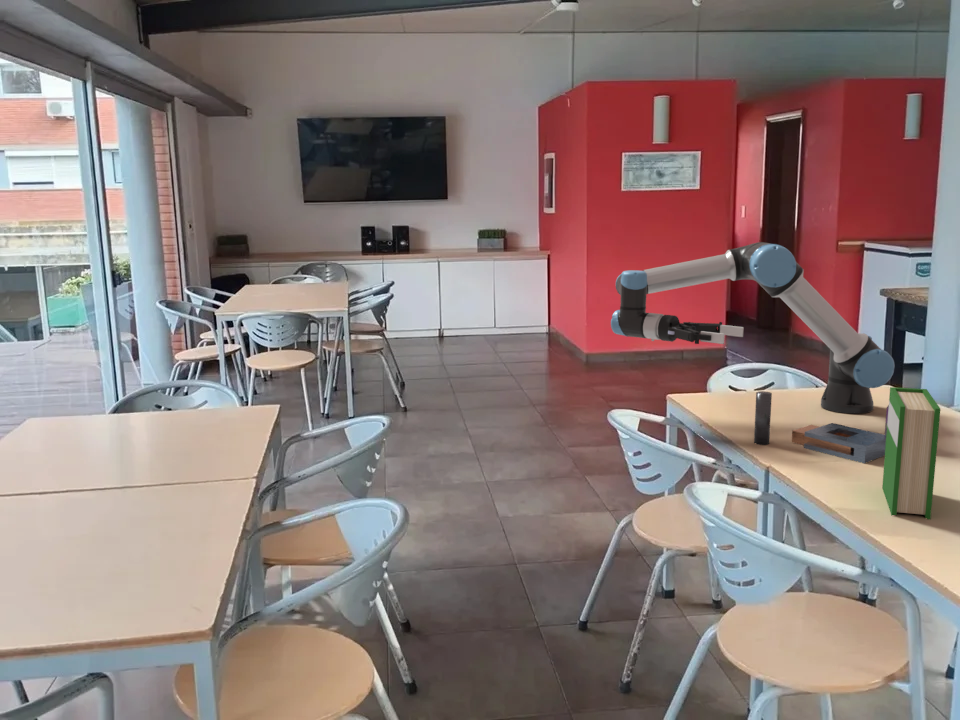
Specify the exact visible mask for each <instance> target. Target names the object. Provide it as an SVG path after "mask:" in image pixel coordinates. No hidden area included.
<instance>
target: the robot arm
mask: <svg viewBox="0 0 960 720" xmlns="http://www.w3.org/2000/svg"><path fill="white" fill-rule="evenodd" d="M804 271H805V269H804V268H803V267H802V266H801V265H800V264H799V263H798V262H797V261H796V258H795V255H794V254H793V253H792V252H791V251H790V250H789V249H788V248H786V247H784V245H780V244H777V243H769V242H764V241H758V242H755V243H750V244H747V245H744V246H740V247H737V248H736V247H735V248H731V249H727V250H726V252H725V253H723V254H717V255H713V256H708V257H704V258H698V259H693V260H692V259H691V260H689V261H682V262H677V263H674V264H673V263H672V264H668V265H663V266H657V267H652V268H647V269H643V270H636V269H635V270H634V269H633V270H632V269H631V270H630V269H629V270H623V271H622V272H621V274H619V275H618V276H617V277H616V280H615V289H616V292H617V293H618V294H619V296H620V306H619V309H617V310H615V311H614V312H613V313H612V315H611V319H610V328H611V330H612V332H613V334H616V335H619V336H624V337H626V338H627V337H630V338H640V339H649V340H650V341H651V342H654V341H655V340H658V341H660V340H661V341H665V342H672V343H673V342H675V341H676V340H677V339H679V340H682V341H686V342H691V343H694V344H695V345H699V344H700V342H702V343H711V344H718V345H719V344H720V345H724V344H725V336H729V337H738V338H744V328H745V327H744V326H738V325H737V326H736V325H734V326H733V325H728V324H727V325H725V324H723V322H722V321H719V323H714V322H713V323H712V322H710V323H709V322H693V321H692V322H691V321H683V322H681V321H680V319H679V317H678V316H677V315H672V314H663V313H655V312H646V311H647V310H646V309H647V295H649V294H655V293H658V292H660V293H661V292H665V291H669V290H670V291H671V290H675V289H679V288H681V289H682V288H685V287H692V286H697V285H702V284H707V283H712V282H717V281H723V280H728V279H729V280H731V281H733V282H735V281H740V280H750V281H751V280H752V281H755V282H756V283H757V284H758V285H759V286H760V287H761V288H763V290H765V292H766V293H767V294H768V295H770V297H771V298H779V299H781V301H783V302H784V303H785V305H787V306H788V307H789V308H790V309H791V311H792V312H793V313H794V314H795V315H796V316H797V317H798V318H799V319H801V321H802V322H803V323H804V324H805V325H806V326H807V328H809V329H810V330H811V331H812V332H813V333H814V334H815V335H816V336H817V337H818V338H819V339H820V341H822V342H823V343H824V344H825V345H826V347H827V348H828V349H829V362H828V363H829V364H828V380H827V384H826V387H825V389H824V391H823V393H822V396H821V399H820V407H821V408H823V409H824V410H828V411H831V412H835V413H842V414H843V413H844V414H866V413H871V412H872V411H874V399H873V396H872V393H871V392H872V391H871V389H876V388H879V387H882V386H884V385H886V384H887V383H888V382H889V381H890V380H891V379H892V376H893V375H894V372H895V360H894V358H893V356H892V355H891V354H890V353H889V352H888V351H886V350H884V349H882V348H881V347H879V346H878V345H877V343H875V341H874V340H873V338H872V337H871V336H870V335H868V334H866V333H864V332H863V333H858V331H856V330H855V328H854V327H853V326H851V325H850V324H849V322H847V321H846V319H844V317H843V316H842V315H841V314H840V313H839V312H838V311H837V310H836V309H835V308H834V307H833V306H832V305H831V304H830V303H829V302H828V301H827V300H826V298H824V297H823V296H822V295H821V294H820V293H819V291H818V290H817V289H816V288H814V287H813V285H812V284H811V283H810V282H809V281H808V280H807V279H806V278H805V277H804Z"/></svg>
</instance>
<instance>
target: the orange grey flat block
mask: <svg viewBox="0 0 960 720" xmlns="http://www.w3.org/2000/svg"><path fill="white" fill-rule="evenodd" d="M791 434H792V435H791V443H793V444H797V445H798V444H799V445H802V446H803V449H807V450H811V451H814V450H815V452H818V451H819V453H822V452H823V453H822V454H826V453H827V455H831V456H834V455H835V457H838V458H841V457H842V458H843V459H845V460H849V459H850V461H853V460H854V461H853V462H857V461H858V462H857V463H861V462H862V464H866V462H867V463H868V462H869V461H870V462H872V461H875V460H877V459H880V458H882V457H885V456H884V455H885V447H886V435H885V433H884V434H882V433H879V432H874V431H869V430H865V429H860V428H856V427H851V426H848V425H847V426H846V425H842V424H838V423H835V422H832V423H828V424H825V425H822V426H819V425H814V424H809V425H805V426H803V427H800V428H796V429H792V432H791ZM879 457H880V458H879ZM876 458H877V459H876ZM874 459H875V460H874ZM871 460H872V461H871Z"/></svg>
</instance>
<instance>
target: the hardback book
mask: <svg viewBox="0 0 960 720" xmlns="http://www.w3.org/2000/svg"><path fill="white" fill-rule="evenodd" d="M888 405H889V409H888V421H887V434H886V447H885V456H884V462H883V472H882V473H883V475H882V485H881V486H882V491H883V494H884V497H885V499H886V503H887V507H888V509H889V512H890V515H891V516H892V515H896V516H897V513H904V514H915V515H923V516H925V517H924V519H925V518H927V519H926V520H931V518H932V505H933V493H934V485H935V474H936V473H935V472H936V471H935V470H936V462H937V452H938V451H937V449H938V441H939V439H938V438H939V429H940V419H941V418H940V417H941V407H940V406H939V405H938V403H937V402H936V401H935V399H934V398H933V396H932V394H931V393H930V391H929V390H928V389H927V388H911V387H910V388H909V387H895V386H894V387H892V386H890V387H889V399H888Z"/></svg>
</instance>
